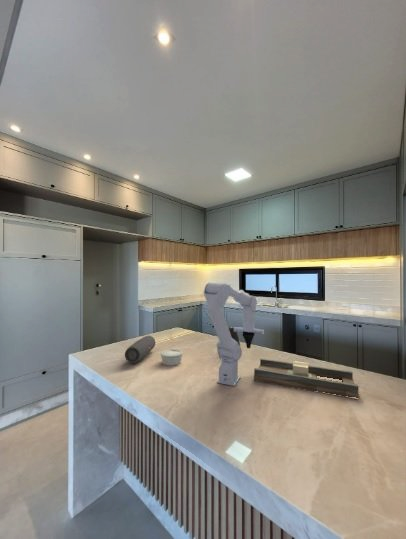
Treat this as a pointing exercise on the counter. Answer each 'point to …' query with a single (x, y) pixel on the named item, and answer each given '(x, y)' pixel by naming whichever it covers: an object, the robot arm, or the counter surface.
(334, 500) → the counter surface
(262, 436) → the counter surface
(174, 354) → the ramekin
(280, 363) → the walled deck
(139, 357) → the bluetooth speaker
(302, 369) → the maple block
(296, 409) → the counter surface
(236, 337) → the pump dispenser
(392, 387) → the counter surface
